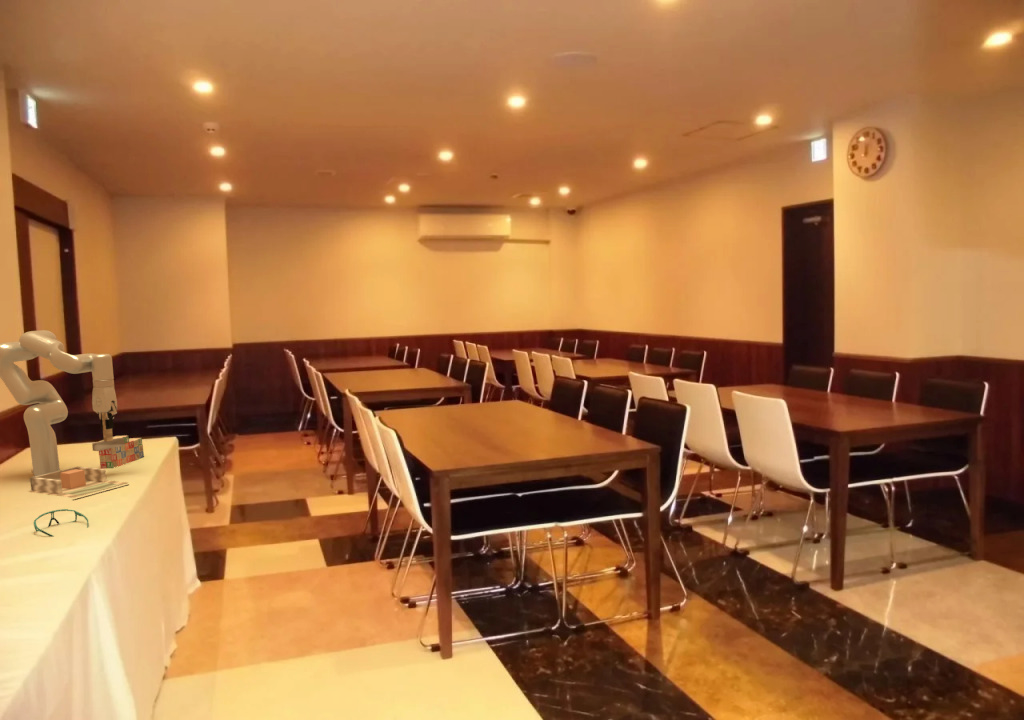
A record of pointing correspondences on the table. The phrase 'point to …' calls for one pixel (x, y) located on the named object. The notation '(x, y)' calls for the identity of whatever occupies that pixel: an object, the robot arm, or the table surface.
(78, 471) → the block
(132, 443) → the stack of blocks
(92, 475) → the cubby
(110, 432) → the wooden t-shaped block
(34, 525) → the sunglasses
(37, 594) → the table surface
